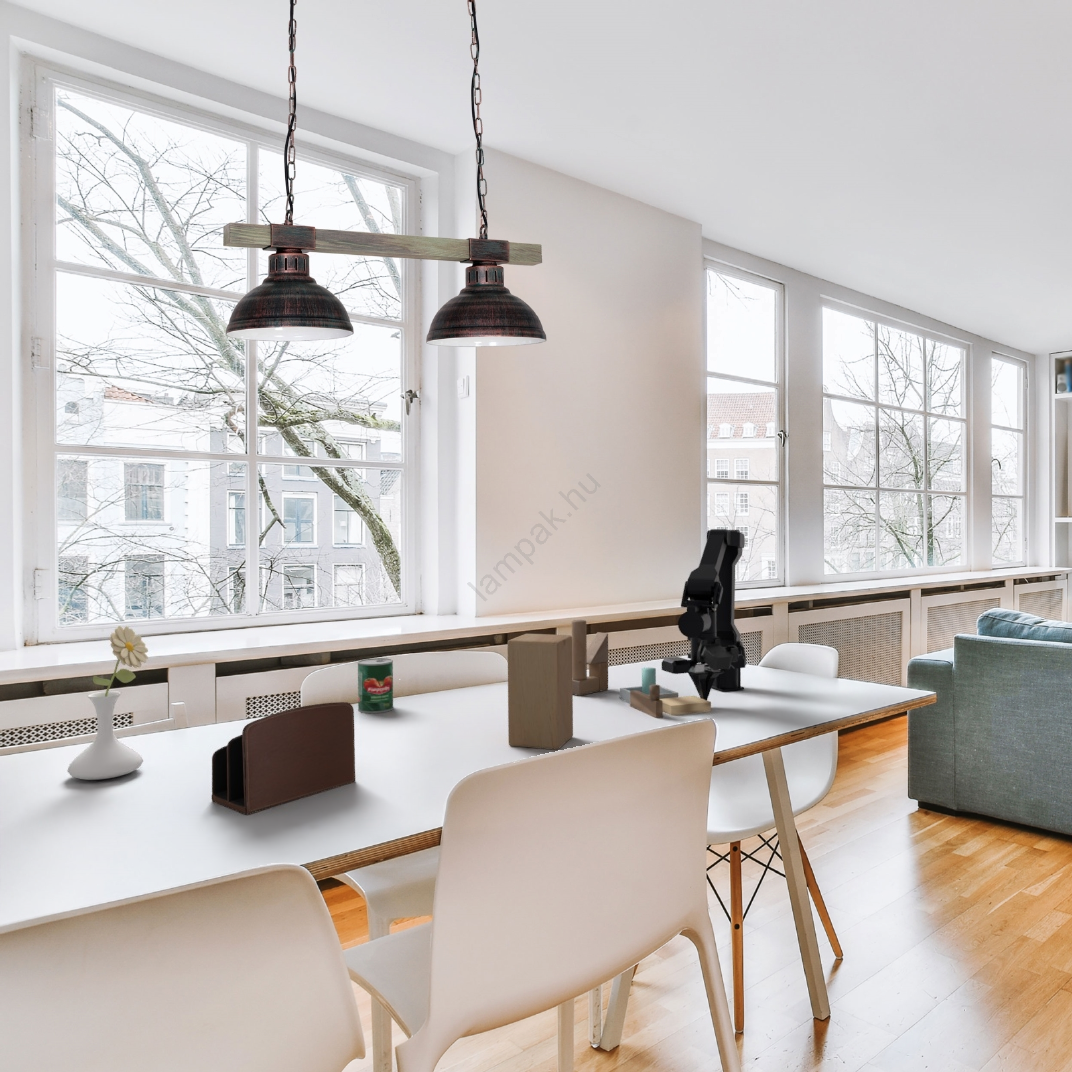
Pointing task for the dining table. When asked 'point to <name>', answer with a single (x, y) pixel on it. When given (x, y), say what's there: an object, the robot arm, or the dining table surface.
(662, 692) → the tray
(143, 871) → the dining table surface
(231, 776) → the letter holder
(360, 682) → the canned tomato
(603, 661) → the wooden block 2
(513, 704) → the wooden block
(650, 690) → the rail
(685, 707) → the board
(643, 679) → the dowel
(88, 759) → the flower in vase
